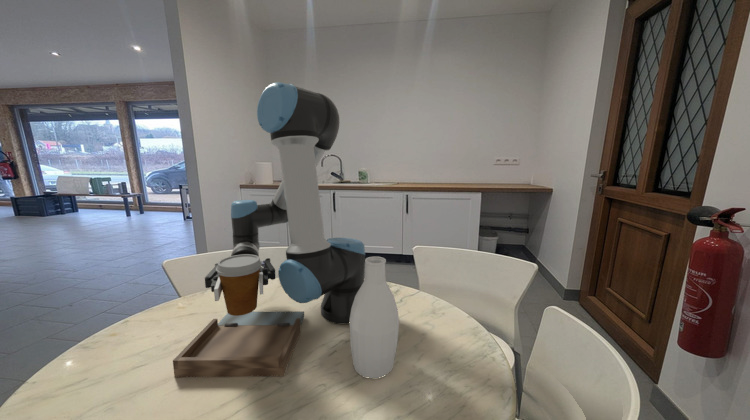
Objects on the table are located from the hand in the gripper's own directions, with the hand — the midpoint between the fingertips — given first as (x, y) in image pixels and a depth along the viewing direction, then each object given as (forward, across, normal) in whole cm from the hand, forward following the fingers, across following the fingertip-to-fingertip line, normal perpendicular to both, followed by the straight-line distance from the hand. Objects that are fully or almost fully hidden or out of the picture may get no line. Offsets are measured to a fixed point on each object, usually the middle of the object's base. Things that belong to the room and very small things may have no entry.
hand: (239, 291), depth 60 cm
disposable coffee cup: (-5, 0, -7) cm, 8 cm away
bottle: (+11, -28, -18) cm, 34 cm away
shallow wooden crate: (-8, -1, -18) cm, 20 cm away
